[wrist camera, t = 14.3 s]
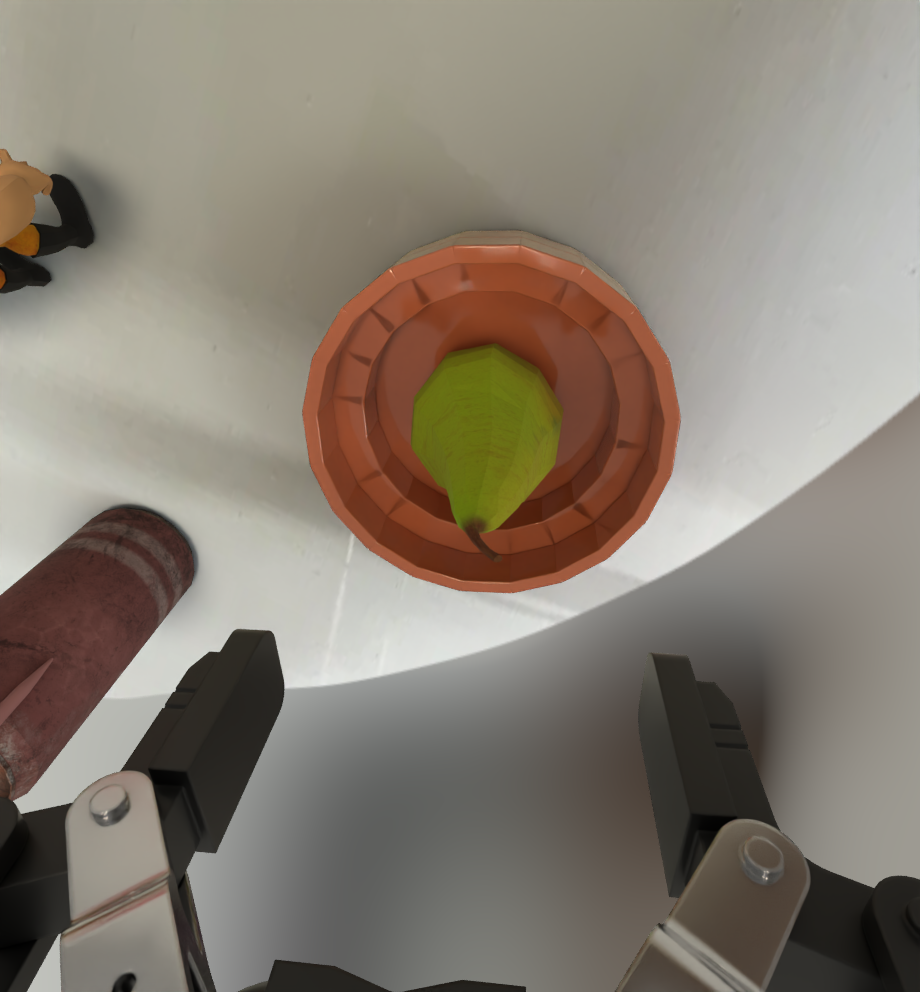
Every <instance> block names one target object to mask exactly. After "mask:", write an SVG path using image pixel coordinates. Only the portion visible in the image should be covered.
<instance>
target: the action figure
mask: <svg viewBox="0 0 920 992" xmlns="http://www.w3.org/2000/svg"><path fill="white" fill-rule="evenodd" d="M0 159H1V164H0V293H8V292H12V291H15V290H19V289H21V288H23V287H25V286H43V287H44V286H46V285H47V284H48V283H49V282H50V281H51V277H50V273H49V272H48V271H47V270H45V269H44V268H43V267H41V266H39V265H36V264H33V263H30V262H28V261H26V260H25V259H24V258H22V257H21V256H20V255H19V254H21V255H25V256H31V257H32V258H36V257H40V256H44V255H49V254H53V253H56V252H59V251H61V250H62V249H64V248H66V247H68V246H77V247H80V248H84V249H85V248H87V247H88V246H89V245H90V244H91V243H92V242H93V231H92V228H91V225H90V223H89V220H88V217H87V214H86V211H85V208H84V205H83V202H82V200H81V198H80V196H79V194H78V192H77V191H76V189H75V188H74V186H73V185H72V184H71V183H70V181H69V180H68V179H66V178H65V177H63V176H61V175H57V174H52V175H51V176H50V177H49V176H48V175H46V174H44V173H42V172H41V171H39V170H38V169H36V168H34V167H31V166H28V165H27V162H17V161H13V160H12V159H11V157H10V155H9V153H8V152H7V150H5V149H0ZM40 191H42V193H43V194H44V195H49V194H50V196H51V198H52V200H53V202H54V204H55V205H56V207H57V209H58V211H59V213H60V216H61V221H62V225H61V226H60V227H53V226H49V225H44V224H37V223H31V221H32V218H33V216H34V213H35V211H36V210H35V200H34V197H33V195H35V194H38V193H39V192H40ZM1 264H2V265H1Z"/></svg>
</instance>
